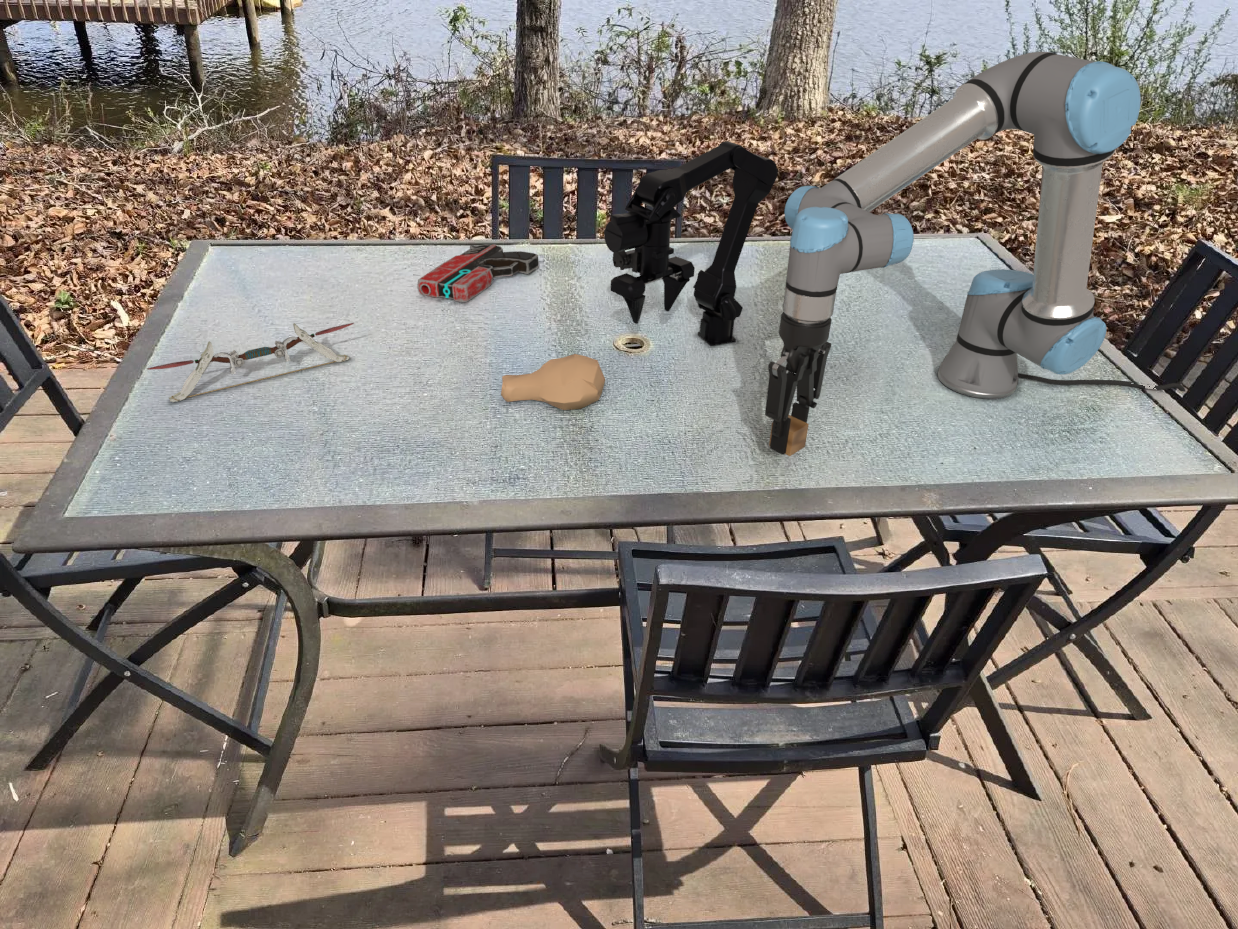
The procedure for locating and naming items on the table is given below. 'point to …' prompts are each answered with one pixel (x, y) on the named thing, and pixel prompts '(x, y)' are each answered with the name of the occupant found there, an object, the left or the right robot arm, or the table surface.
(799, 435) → the block
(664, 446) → the table surface
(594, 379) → the squash
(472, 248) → the gun
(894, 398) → the table surface
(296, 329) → the bow
